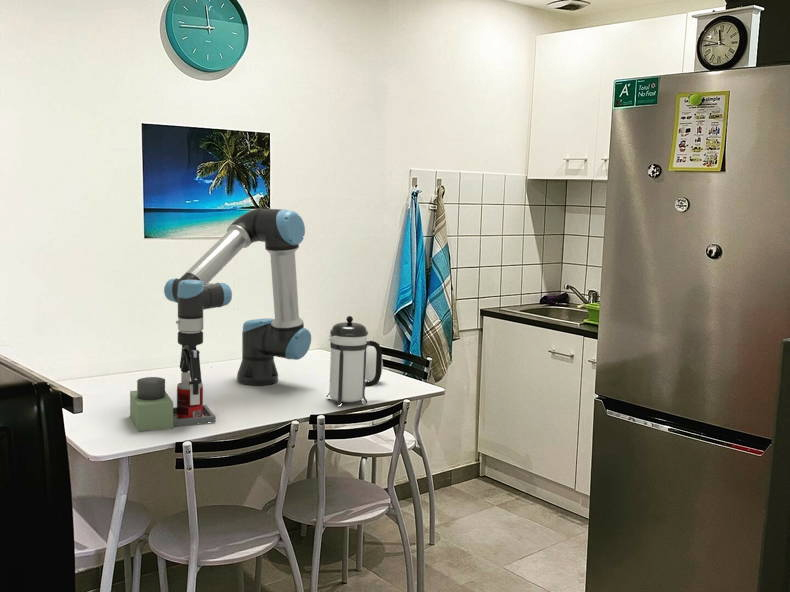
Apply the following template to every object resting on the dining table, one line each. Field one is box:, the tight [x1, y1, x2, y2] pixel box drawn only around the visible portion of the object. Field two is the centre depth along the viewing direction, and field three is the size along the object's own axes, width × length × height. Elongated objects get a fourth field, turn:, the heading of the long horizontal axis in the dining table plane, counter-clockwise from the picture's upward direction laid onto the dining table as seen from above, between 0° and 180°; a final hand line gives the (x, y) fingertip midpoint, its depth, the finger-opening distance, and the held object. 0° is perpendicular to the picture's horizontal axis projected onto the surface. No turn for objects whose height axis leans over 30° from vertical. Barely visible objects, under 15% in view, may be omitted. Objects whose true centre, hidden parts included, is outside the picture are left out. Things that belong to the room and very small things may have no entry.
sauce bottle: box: [365, 336, 384, 382], centre depth 291 cm, size 8×8×18 cm
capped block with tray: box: [129, 376, 217, 432], centre depth 236 cm, size 23×16×13 cm
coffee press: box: [325, 315, 383, 406], centre depth 264 cm, size 17×16×30 cm
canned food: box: [176, 380, 204, 419], centre depth 238 cm, size 8×8×11 cm
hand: (190, 398), depth 238 cm, fingers open, 13 cm apart
